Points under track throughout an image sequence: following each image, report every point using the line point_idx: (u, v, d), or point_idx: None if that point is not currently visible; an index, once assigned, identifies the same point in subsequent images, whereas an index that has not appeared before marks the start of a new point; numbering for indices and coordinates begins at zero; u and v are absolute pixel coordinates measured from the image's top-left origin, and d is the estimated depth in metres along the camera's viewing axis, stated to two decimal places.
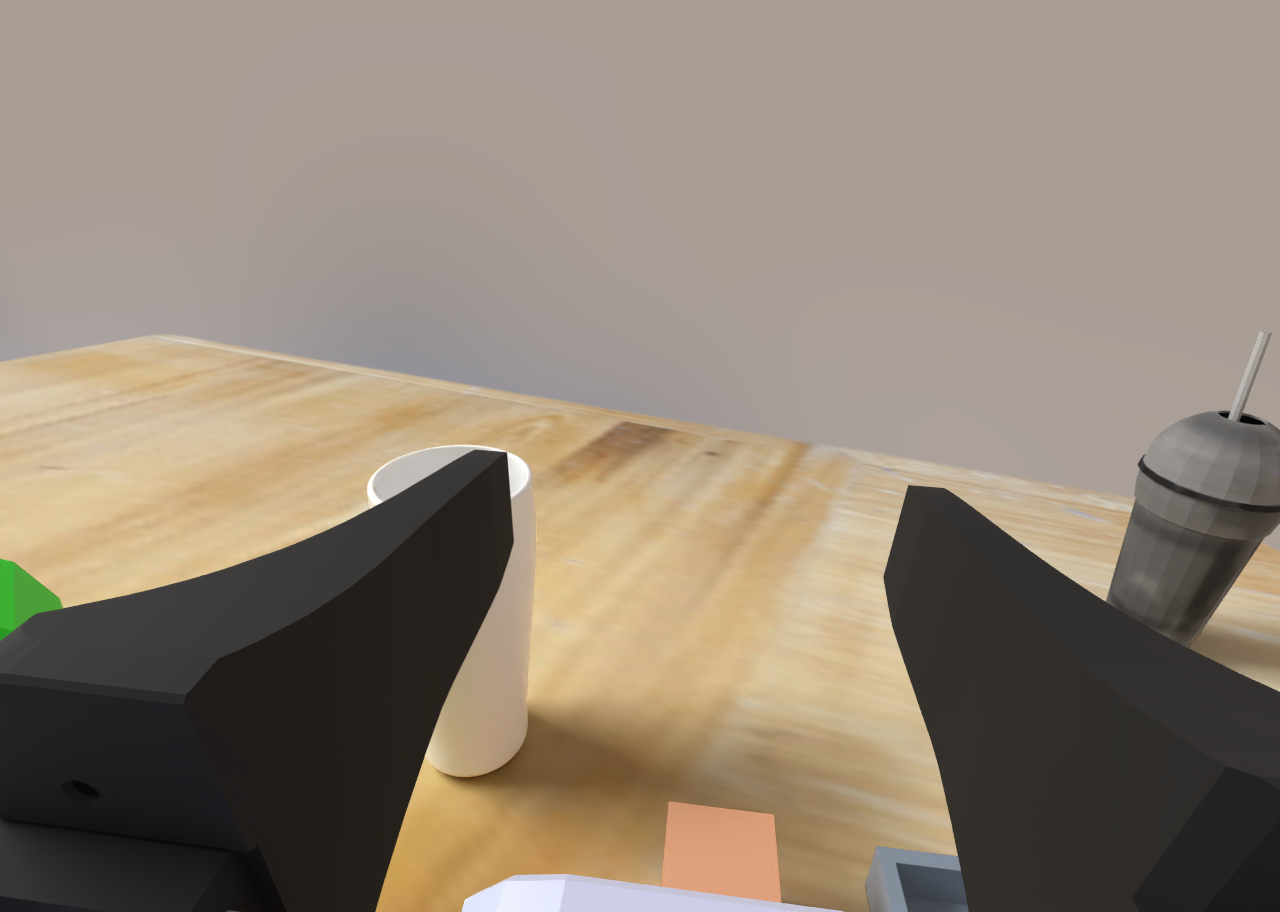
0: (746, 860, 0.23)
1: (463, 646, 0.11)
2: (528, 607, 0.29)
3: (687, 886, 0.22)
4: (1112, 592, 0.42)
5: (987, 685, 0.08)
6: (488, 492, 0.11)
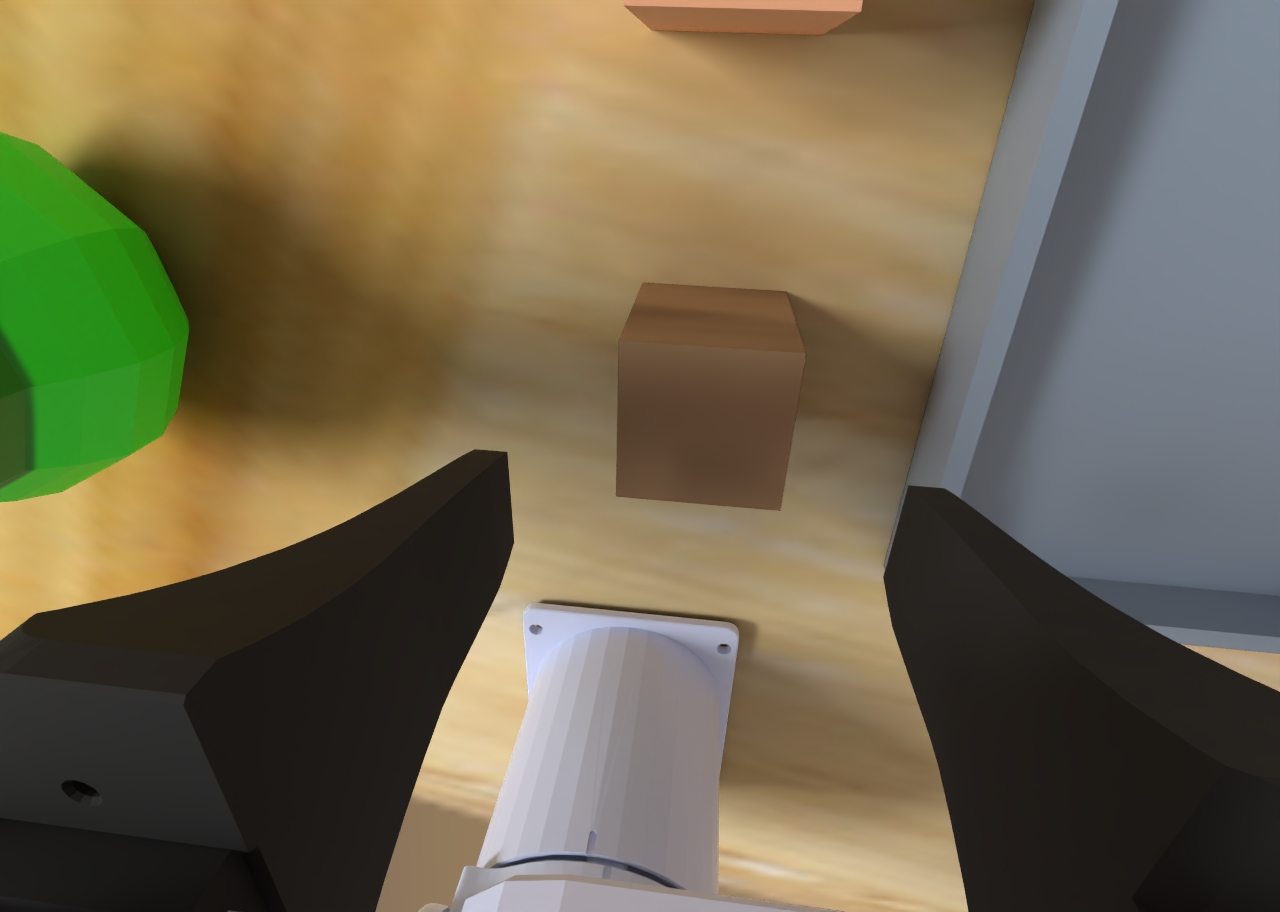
0: None
1: (463, 646, 0.11)
2: None
3: None
4: None
5: (987, 685, 0.08)
6: (488, 492, 0.11)
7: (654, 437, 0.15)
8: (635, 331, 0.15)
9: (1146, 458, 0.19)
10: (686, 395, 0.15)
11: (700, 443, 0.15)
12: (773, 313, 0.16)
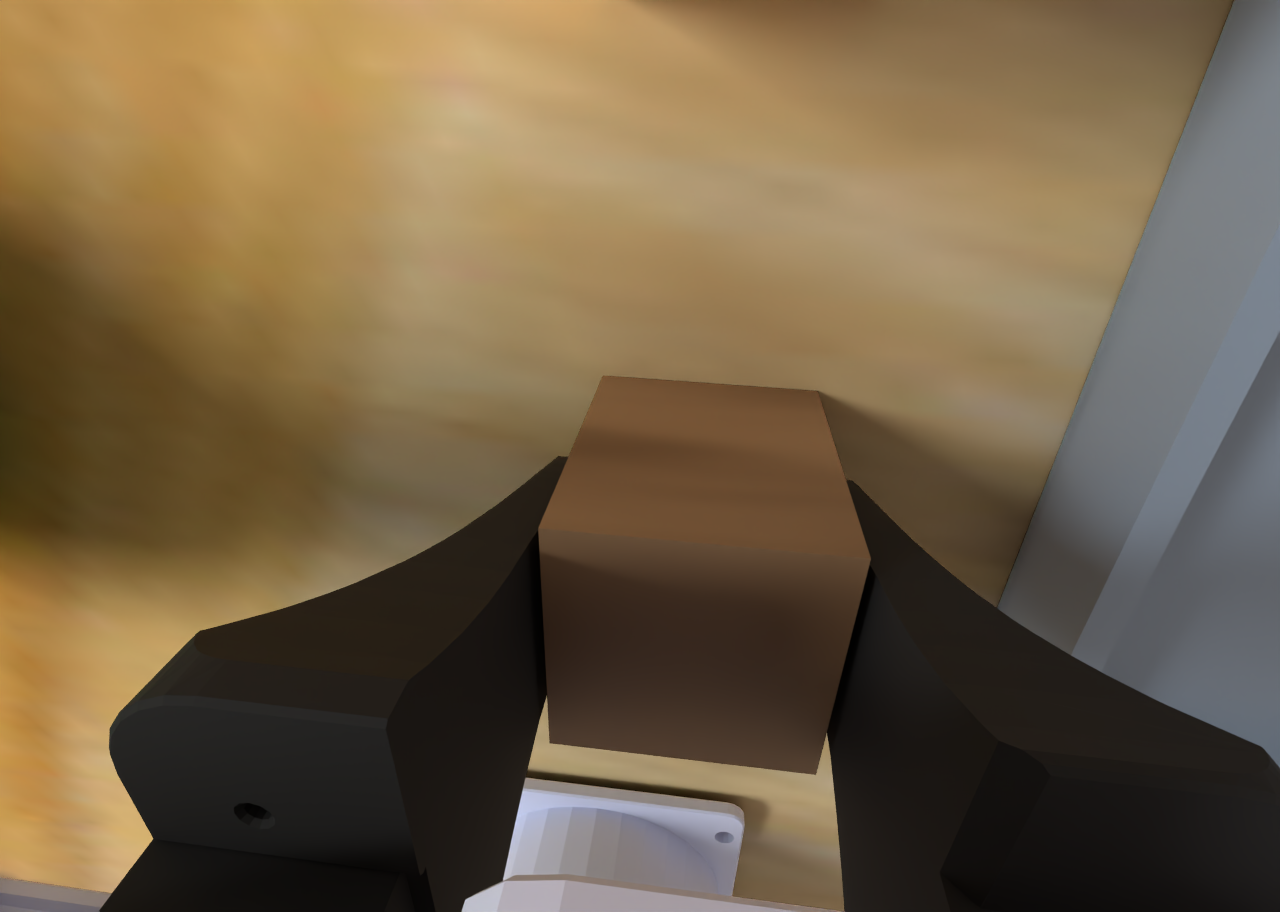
0: None
1: None
2: None
3: None
4: None
5: (861, 672, 0.08)
6: None
7: (608, 668, 0.09)
8: (572, 501, 0.09)
9: None
10: (658, 612, 0.09)
11: (684, 680, 0.09)
12: (803, 445, 0.10)
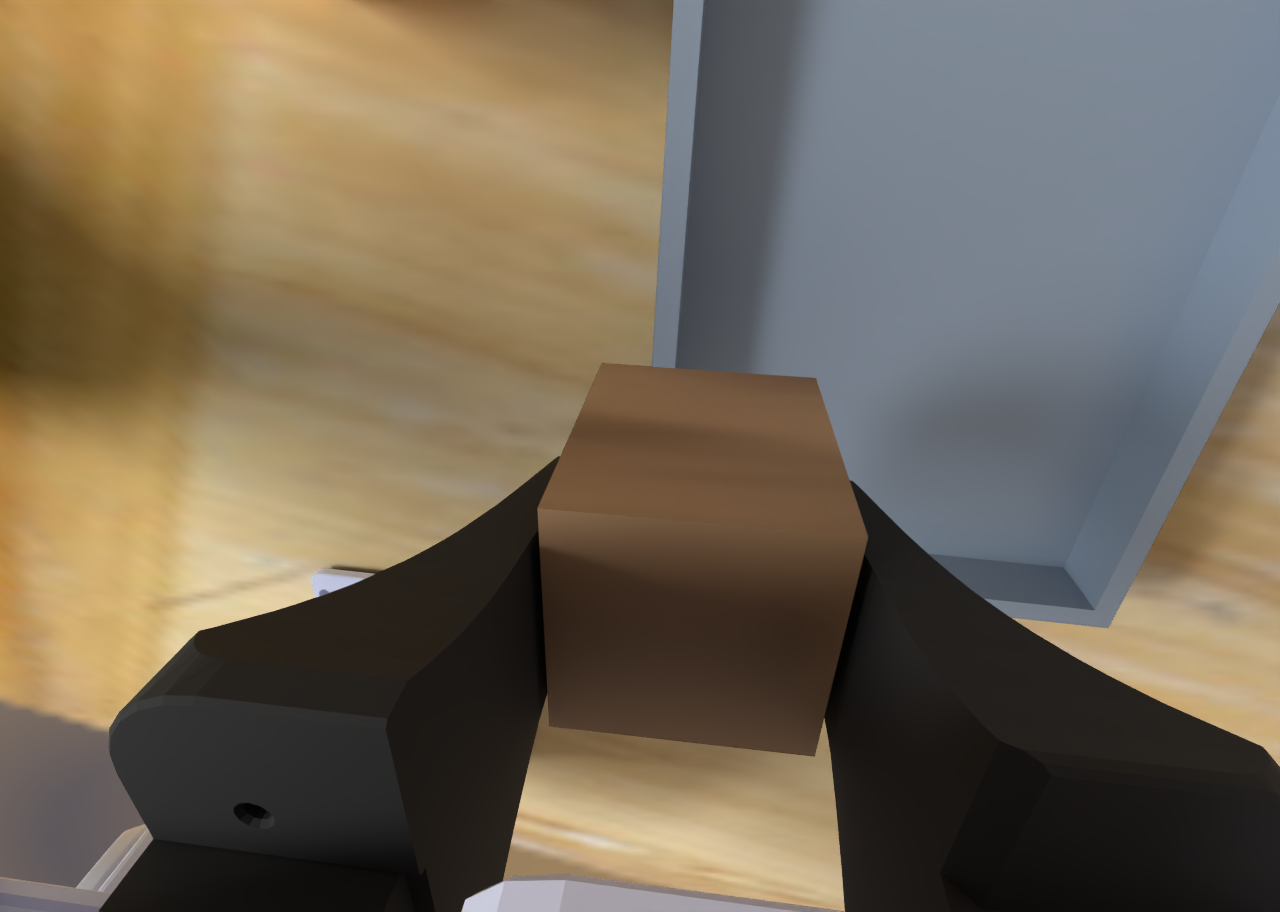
0: None
1: None
2: None
3: None
4: None
5: (862, 672, 0.08)
6: None
7: (606, 649, 0.09)
8: (571, 482, 0.09)
9: (864, 424, 0.19)
10: (656, 592, 0.09)
11: (682, 661, 0.09)
12: (801, 429, 0.10)
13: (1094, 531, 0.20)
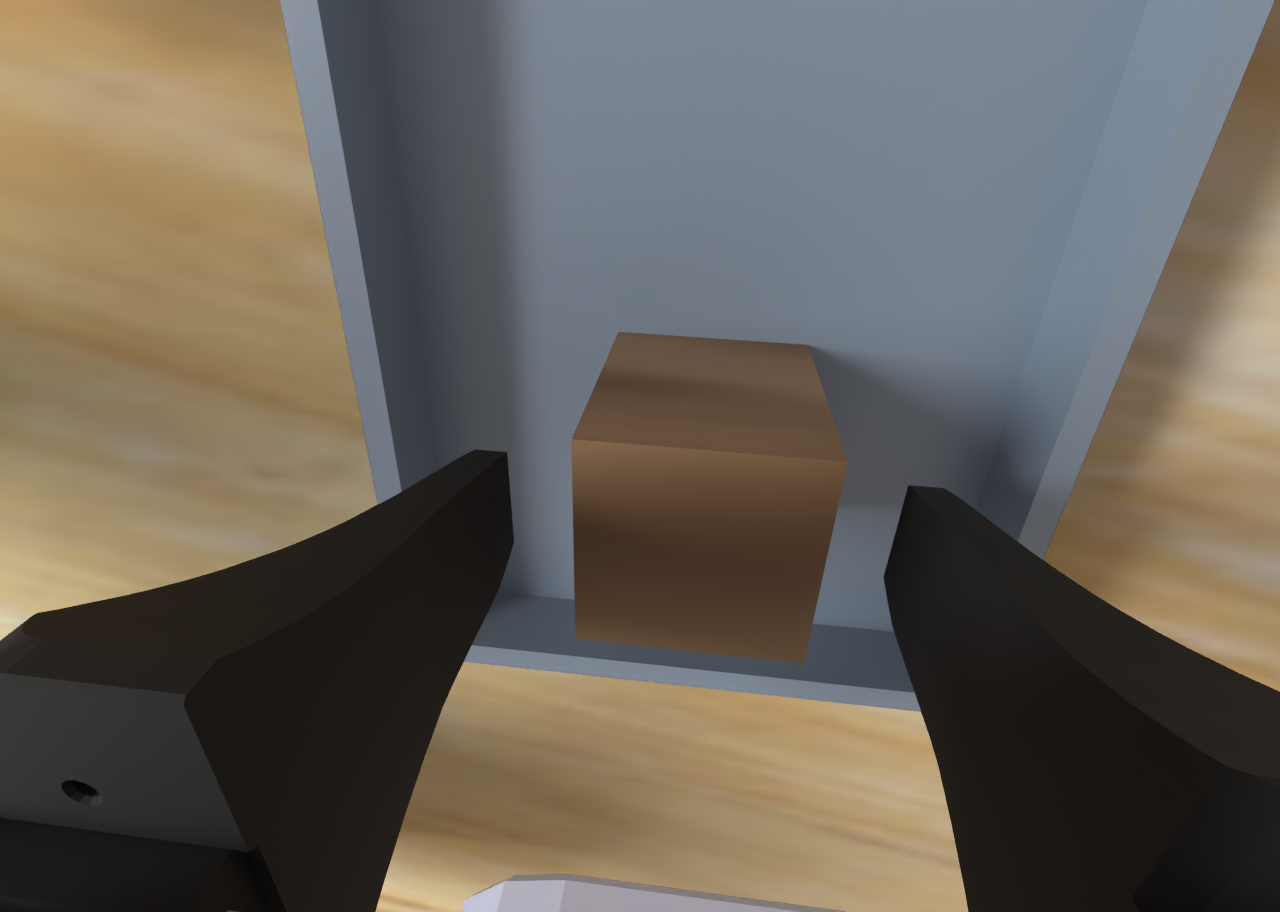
0: None
1: (463, 646, 0.11)
2: None
3: None
4: None
5: (987, 685, 0.08)
6: (488, 492, 0.11)
7: (627, 566, 0.11)
8: (598, 421, 0.10)
9: None
10: (671, 514, 0.10)
11: (691, 575, 0.11)
12: (794, 383, 0.12)
13: None
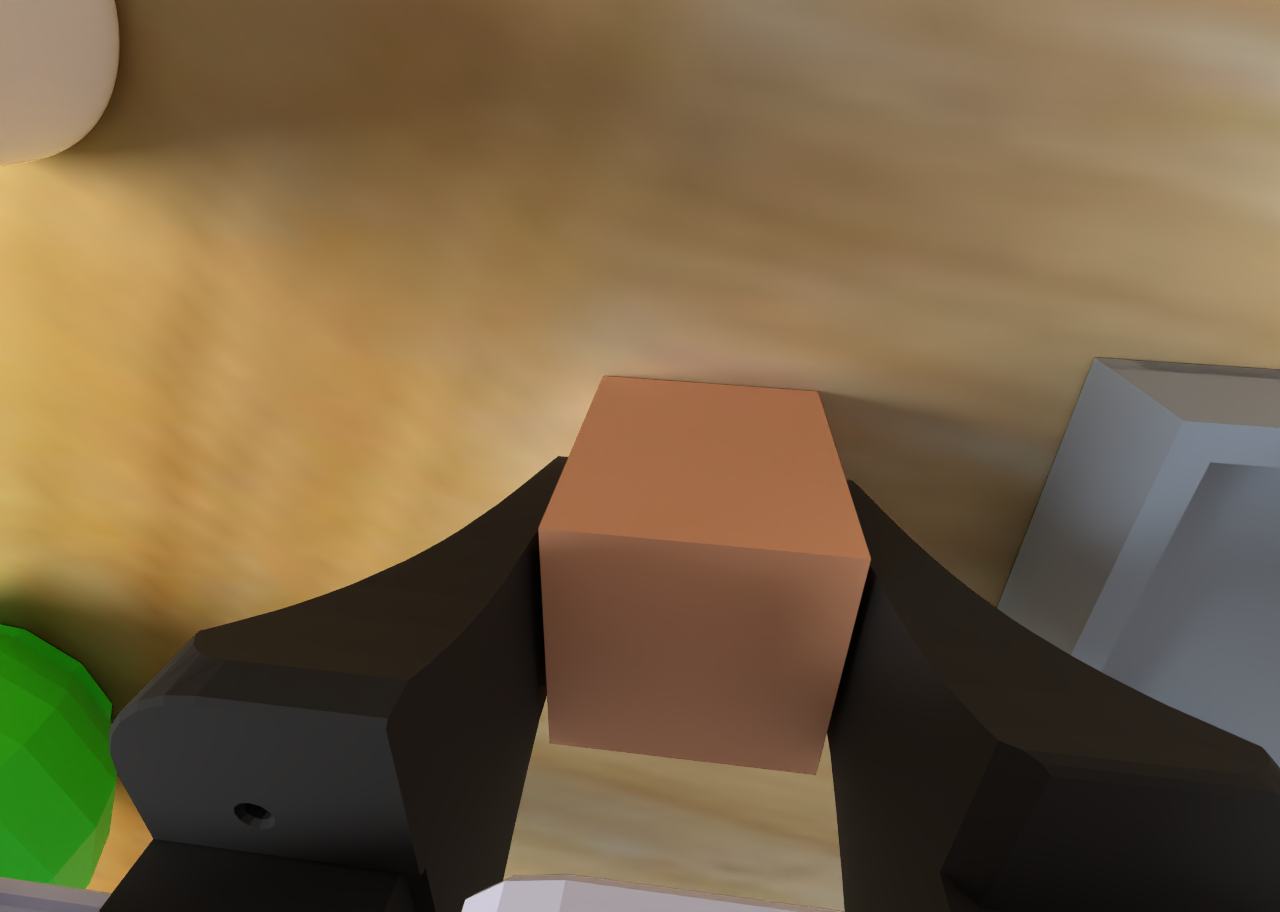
0: (756, 665, 0.09)
1: None
2: None
3: (604, 710, 0.10)
4: None
5: (862, 672, 0.08)
6: None
7: None
8: None
9: None
10: None
11: None
12: None
13: None
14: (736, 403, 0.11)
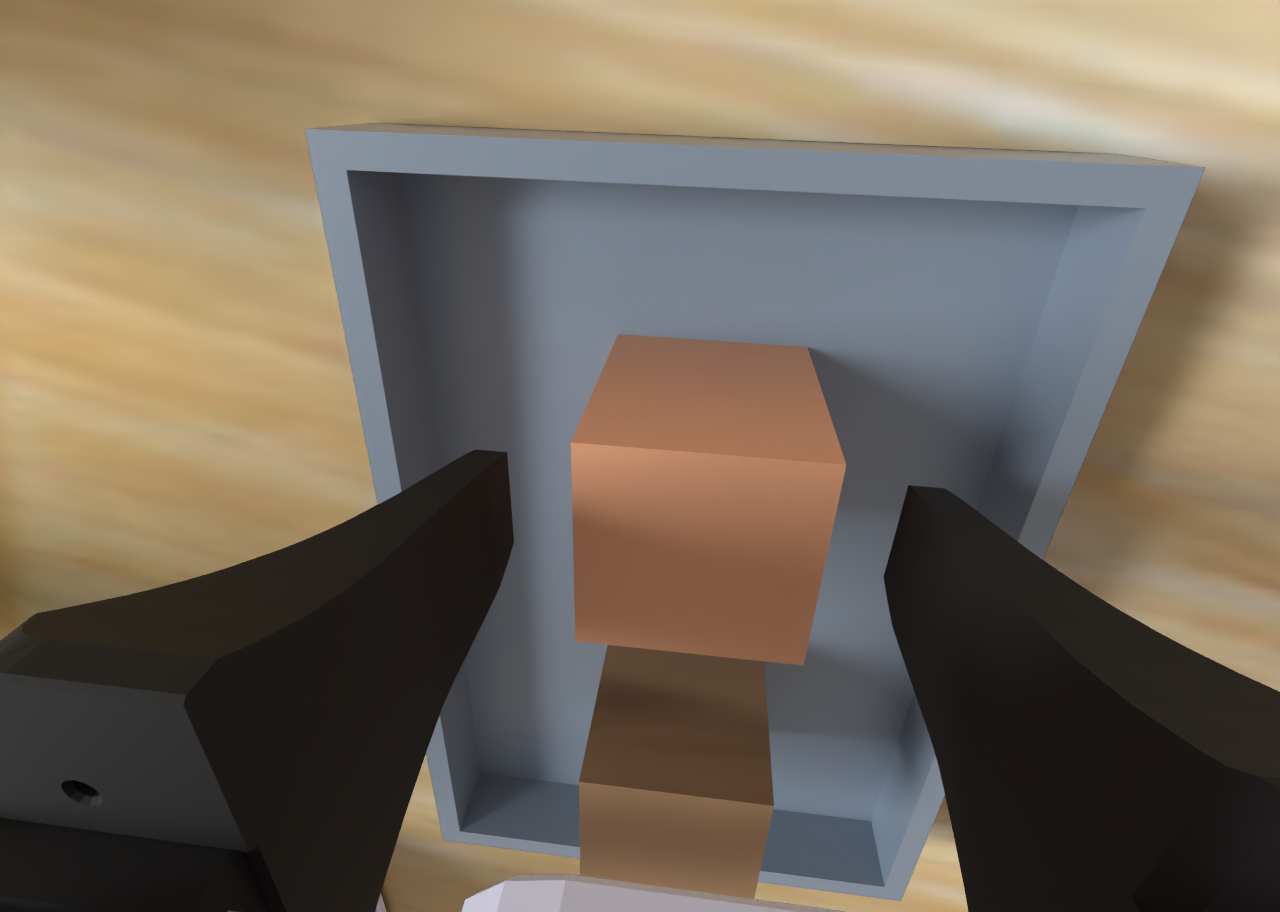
0: (752, 563, 0.10)
1: (463, 646, 0.11)
2: None
3: (622, 608, 0.11)
4: None
5: (987, 685, 0.08)
6: (488, 492, 0.11)
7: (619, 850, 0.15)
8: (598, 755, 0.14)
9: None
10: (650, 824, 0.14)
11: (666, 859, 0.15)
12: (745, 693, 0.16)
13: (887, 803, 0.20)
14: (735, 355, 0.13)
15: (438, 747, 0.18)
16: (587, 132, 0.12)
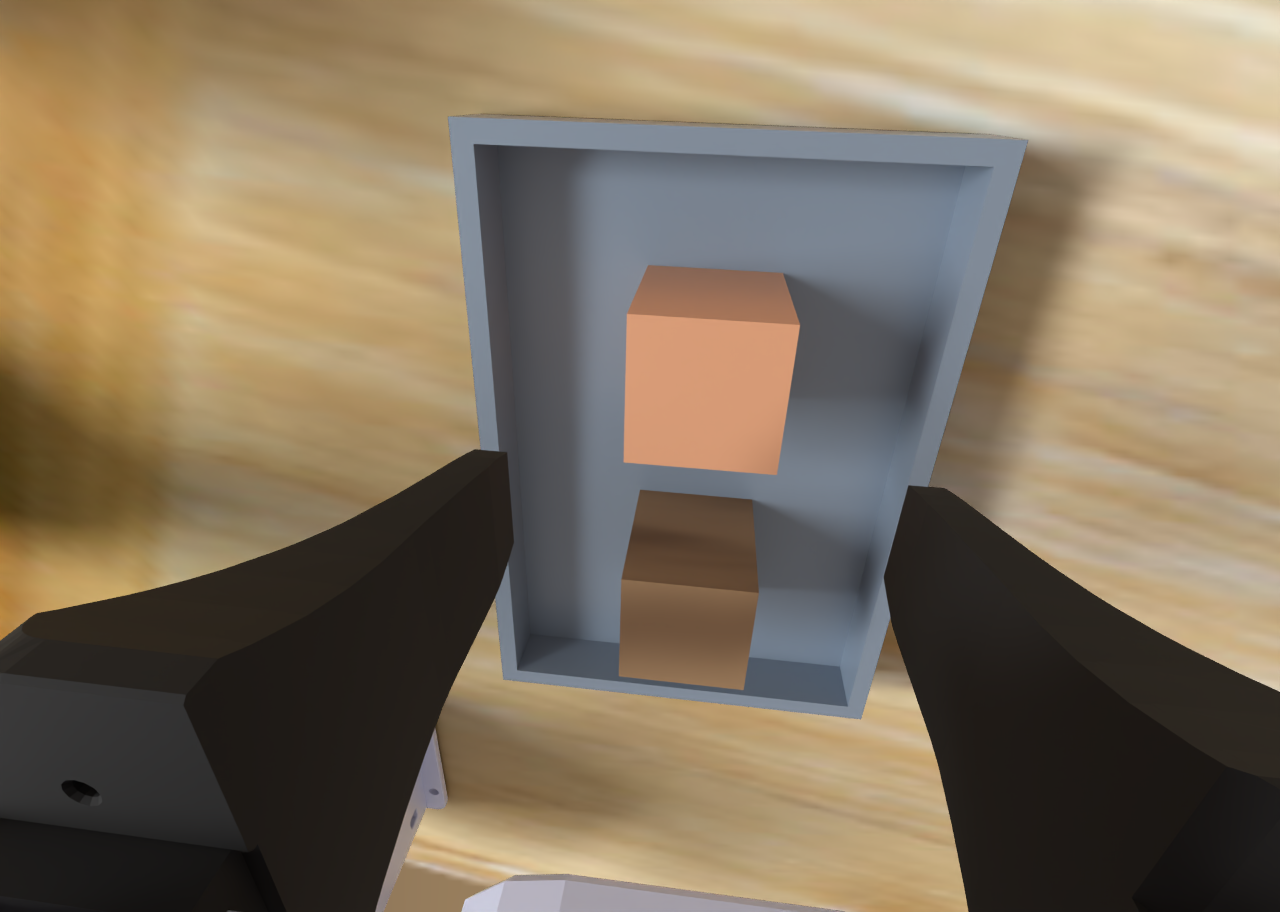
0: (742, 398, 0.16)
1: (463, 646, 0.11)
2: None
3: (656, 435, 0.17)
4: None
5: (987, 685, 0.08)
6: (488, 492, 0.11)
7: (648, 639, 0.20)
8: (634, 566, 0.20)
9: None
10: (671, 614, 0.20)
11: (681, 644, 0.20)
12: (739, 534, 0.21)
13: (850, 644, 0.25)
14: (732, 276, 0.19)
15: (505, 593, 0.24)
16: (629, 120, 0.18)
